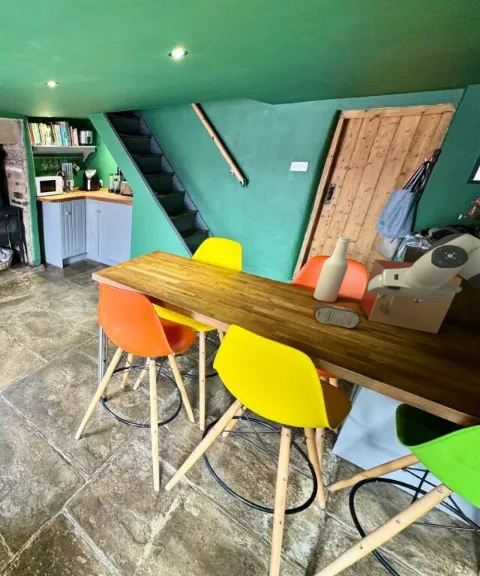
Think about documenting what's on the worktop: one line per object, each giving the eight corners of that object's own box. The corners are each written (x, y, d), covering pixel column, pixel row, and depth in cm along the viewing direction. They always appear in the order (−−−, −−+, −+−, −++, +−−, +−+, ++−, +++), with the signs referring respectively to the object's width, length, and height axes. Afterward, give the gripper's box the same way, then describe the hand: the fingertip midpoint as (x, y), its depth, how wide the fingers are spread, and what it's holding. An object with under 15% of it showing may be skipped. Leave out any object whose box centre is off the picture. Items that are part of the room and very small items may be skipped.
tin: (356, 329, 117) (363, 309, 114) (357, 332, 115) (365, 312, 111) (310, 319, 124) (316, 300, 121) (310, 322, 122) (316, 303, 118)
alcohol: (310, 299, 143) (330, 237, 132) (315, 294, 148) (335, 234, 137) (332, 305, 137) (355, 240, 125) (337, 300, 142) (359, 237, 131)
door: (443, 340, 108) (470, 284, 100) (371, 327, 118) (391, 275, 110) (435, 332, 114) (460, 278, 106) (367, 320, 123) (386, 270, 115)
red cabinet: (435, 332, 114) (460, 278, 106) (367, 320, 123) (386, 269, 115) (419, 315, 127) (440, 265, 119) (359, 306, 136) (375, 259, 128)
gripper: (465, 277, 92) (438, 296, 103) (378, 268, 101) (362, 286, 113) (466, 296, 90) (438, 312, 101) (377, 284, 99) (361, 301, 111)
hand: (398, 298), depth 107 cm, fingers open, 8 cm apart
